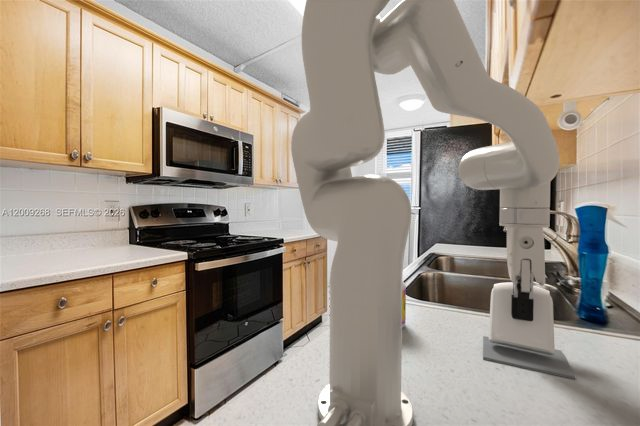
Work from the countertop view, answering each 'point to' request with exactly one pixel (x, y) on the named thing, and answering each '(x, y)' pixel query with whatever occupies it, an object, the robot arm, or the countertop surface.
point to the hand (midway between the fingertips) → (521, 318)
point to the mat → (527, 359)
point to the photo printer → (522, 321)
